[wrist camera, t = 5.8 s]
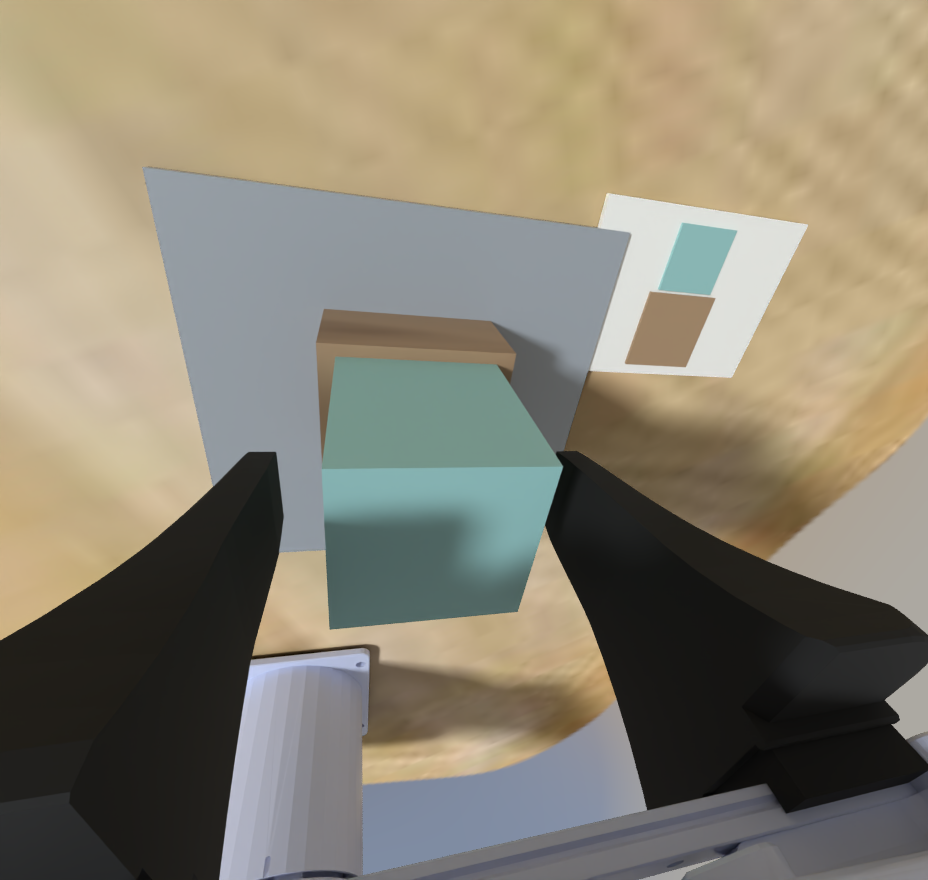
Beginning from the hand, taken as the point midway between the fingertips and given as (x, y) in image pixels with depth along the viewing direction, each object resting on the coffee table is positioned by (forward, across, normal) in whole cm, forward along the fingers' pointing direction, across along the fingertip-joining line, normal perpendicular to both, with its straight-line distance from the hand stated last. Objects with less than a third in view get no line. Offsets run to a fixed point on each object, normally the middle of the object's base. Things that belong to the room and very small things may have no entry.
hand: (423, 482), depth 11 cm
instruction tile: (+6, -10, -4) cm, 12 cm away
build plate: (+6, 0, +1) cm, 6 cm away
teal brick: (+2, 0, 0) cm, 2 cm away
